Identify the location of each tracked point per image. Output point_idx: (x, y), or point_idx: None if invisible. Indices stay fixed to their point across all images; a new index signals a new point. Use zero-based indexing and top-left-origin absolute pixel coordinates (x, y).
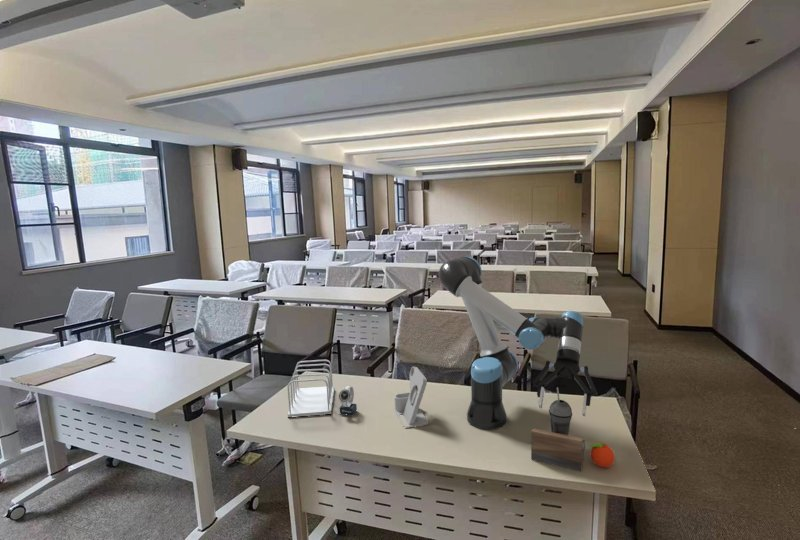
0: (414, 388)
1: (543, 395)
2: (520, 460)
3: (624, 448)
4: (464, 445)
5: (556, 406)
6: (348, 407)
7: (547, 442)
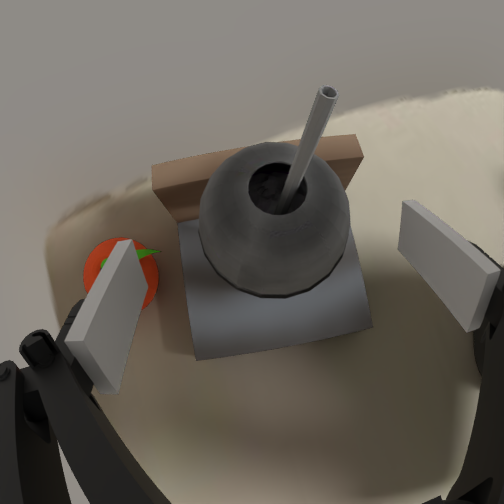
0: None
1: (443, 289)
2: None
3: None
4: (481, 169)
5: (289, 144)
6: None
7: None
